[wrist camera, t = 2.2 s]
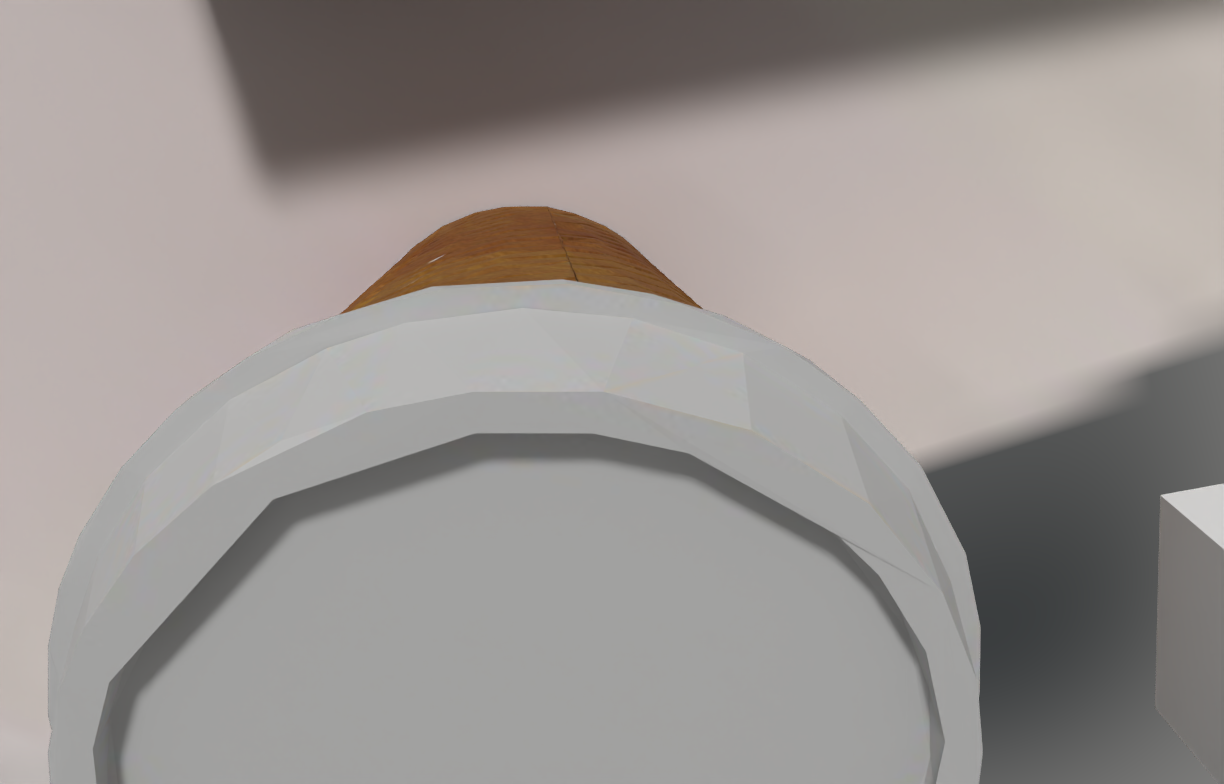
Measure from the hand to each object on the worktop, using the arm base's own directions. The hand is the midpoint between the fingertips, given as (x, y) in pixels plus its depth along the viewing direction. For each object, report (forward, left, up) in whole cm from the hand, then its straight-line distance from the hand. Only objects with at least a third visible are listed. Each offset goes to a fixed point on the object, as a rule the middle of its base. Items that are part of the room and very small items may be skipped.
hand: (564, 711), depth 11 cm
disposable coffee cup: (0, 0, -11) cm, 11 cm away
